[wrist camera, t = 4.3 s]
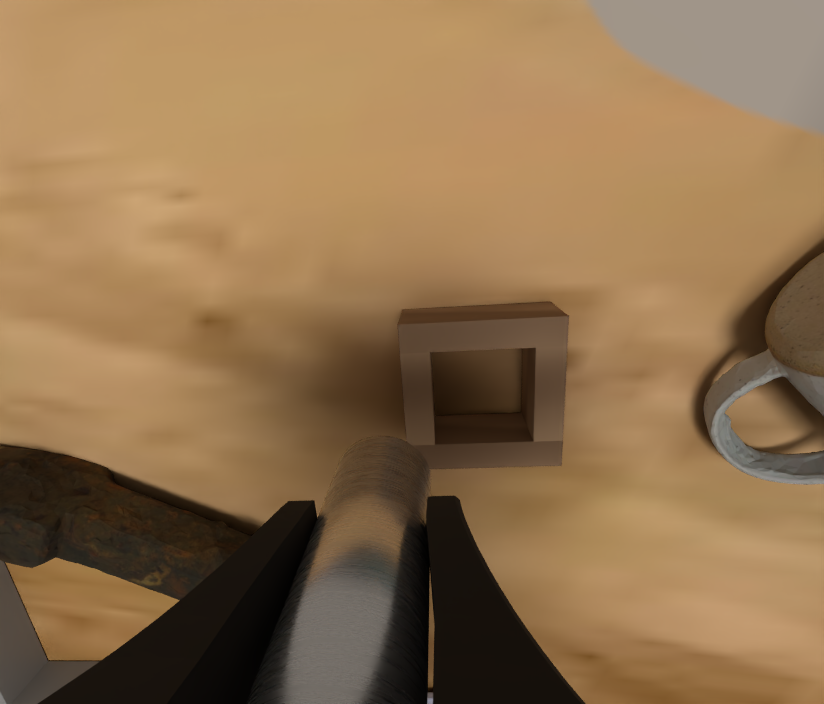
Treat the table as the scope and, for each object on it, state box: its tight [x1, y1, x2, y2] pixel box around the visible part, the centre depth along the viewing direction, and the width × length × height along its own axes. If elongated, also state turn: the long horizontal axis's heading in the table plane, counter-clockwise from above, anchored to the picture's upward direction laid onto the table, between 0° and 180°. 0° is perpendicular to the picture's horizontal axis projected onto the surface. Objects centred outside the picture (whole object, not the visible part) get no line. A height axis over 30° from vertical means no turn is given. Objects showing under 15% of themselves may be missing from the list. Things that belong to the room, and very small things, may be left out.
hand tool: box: [0, 446, 251, 600], centre depth 20 cm, size 19×4×5 cm, turn 63°
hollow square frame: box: [398, 302, 569, 469], centre depth 17 cm, size 6×6×2 cm
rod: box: [246, 436, 431, 704], centre depth 9 cm, size 3×3×7 cm
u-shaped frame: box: [0, 560, 100, 704], centre depth 22 cm, size 10×23×2 cm, turn 94°
